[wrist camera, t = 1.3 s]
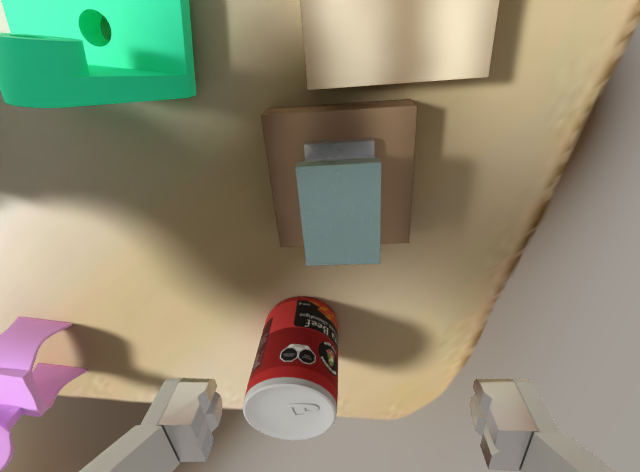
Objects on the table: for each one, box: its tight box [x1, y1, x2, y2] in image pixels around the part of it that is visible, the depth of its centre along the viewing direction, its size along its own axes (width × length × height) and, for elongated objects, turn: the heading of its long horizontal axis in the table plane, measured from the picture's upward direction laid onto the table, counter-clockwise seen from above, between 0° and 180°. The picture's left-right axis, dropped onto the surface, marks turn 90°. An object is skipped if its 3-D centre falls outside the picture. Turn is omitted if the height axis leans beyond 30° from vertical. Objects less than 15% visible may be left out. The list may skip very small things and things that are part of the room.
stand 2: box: [261, 99, 417, 247], centre depth 29 cm, size 11×11×3 cm
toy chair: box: [0, 317, 87, 471], centre depth 36 cm, size 8×9×15 cm
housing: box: [295, 137, 381, 266], centre depth 25 cm, size 5×7×6 cm
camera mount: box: [0, 0, 196, 108], centre depth 21 cm, size 12×8×10 cm, turn 85°
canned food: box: [243, 297, 338, 440], centre depth 34 cm, size 8×8×11 cm
